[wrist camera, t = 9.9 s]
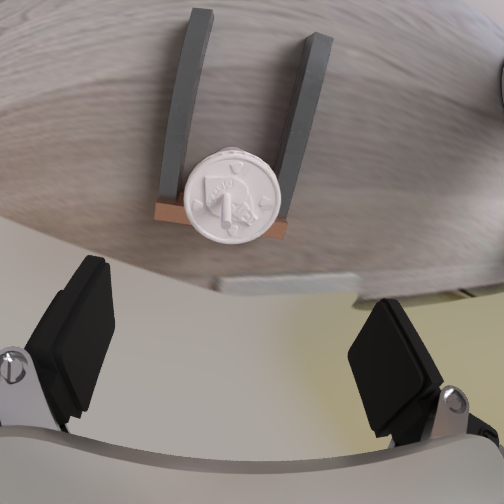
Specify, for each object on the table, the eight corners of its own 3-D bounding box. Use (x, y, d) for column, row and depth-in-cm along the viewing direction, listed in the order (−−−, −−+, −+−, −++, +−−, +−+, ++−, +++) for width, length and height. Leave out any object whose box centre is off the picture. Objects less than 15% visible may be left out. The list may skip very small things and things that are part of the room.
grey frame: (322, 42, 22) (337, 36, 18) (276, 221, 31) (283, 239, 27) (196, 16, 20) (191, 4, 16) (162, 202, 29) (154, 219, 25)
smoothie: (231, 118, 25) (234, 143, 13) (279, 166, 28) (320, 232, 16) (182, 166, 27) (146, 233, 15) (230, 209, 30) (233, 301, 18)
